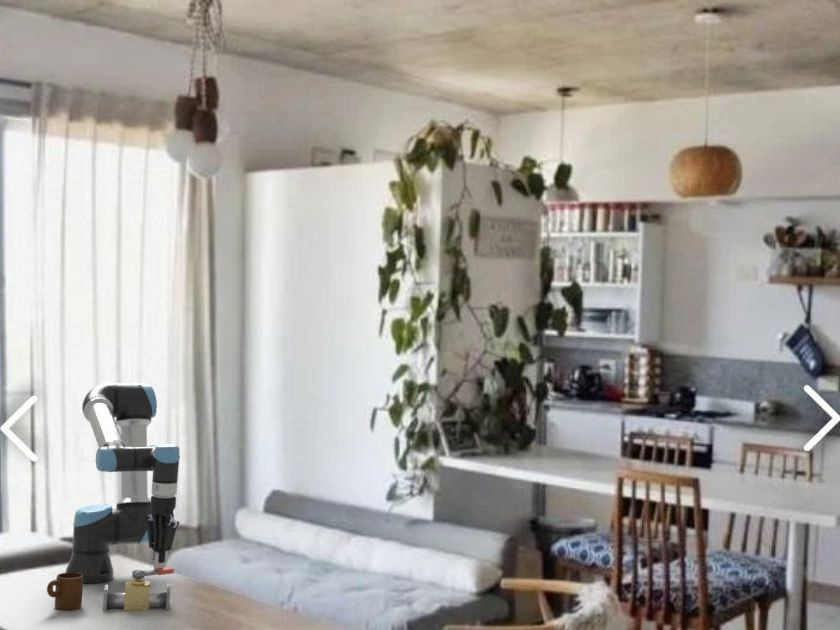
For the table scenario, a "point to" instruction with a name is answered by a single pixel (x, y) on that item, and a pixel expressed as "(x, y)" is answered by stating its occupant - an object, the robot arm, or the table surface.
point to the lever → (152, 572)
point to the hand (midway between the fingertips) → (158, 572)
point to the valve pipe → (136, 597)
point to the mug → (67, 591)
